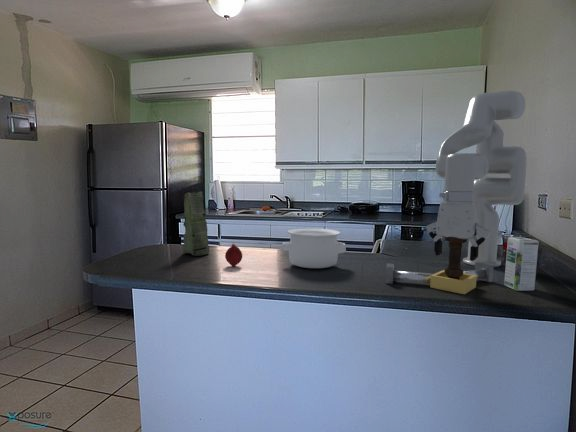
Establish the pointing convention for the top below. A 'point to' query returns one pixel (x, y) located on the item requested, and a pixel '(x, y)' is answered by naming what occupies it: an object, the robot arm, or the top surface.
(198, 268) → the top surface
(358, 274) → the top surface
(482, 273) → the shaft
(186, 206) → the pouch
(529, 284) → the syrup box
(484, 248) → the robot arm
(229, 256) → the onion
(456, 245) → the bolt
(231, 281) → the top surface
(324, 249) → the pot
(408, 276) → the shaft
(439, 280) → the yoke socket
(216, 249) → the top surface
